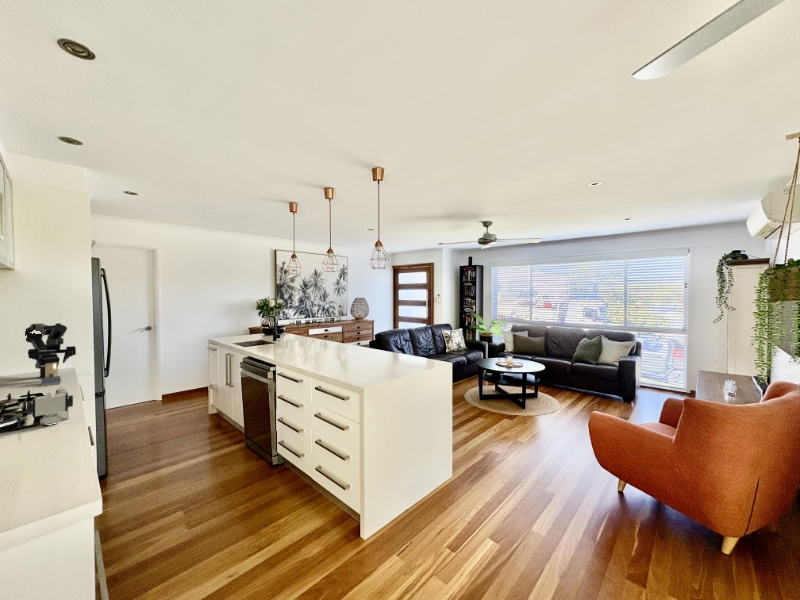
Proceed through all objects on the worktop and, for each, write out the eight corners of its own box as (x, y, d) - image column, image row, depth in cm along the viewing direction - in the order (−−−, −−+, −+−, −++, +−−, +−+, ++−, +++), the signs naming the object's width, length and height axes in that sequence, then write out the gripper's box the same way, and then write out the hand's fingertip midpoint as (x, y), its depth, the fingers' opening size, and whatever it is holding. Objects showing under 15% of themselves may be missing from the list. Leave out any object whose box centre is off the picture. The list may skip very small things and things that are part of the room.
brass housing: (45, 380, 180) (45, 363, 180) (58, 379, 183) (58, 362, 183) (44, 382, 177) (44, 364, 177) (57, 380, 180) (57, 363, 180)
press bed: (43, 383, 180) (43, 375, 180) (61, 381, 185) (61, 373, 185) (41, 386, 174) (41, 378, 174) (59, 384, 178) (59, 376, 178)
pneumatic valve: (72, 422, 124) (72, 391, 124) (26, 430, 115) (26, 397, 115) (72, 418, 128) (73, 388, 128) (28, 426, 119) (28, 394, 119)
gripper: (28, 334, 179) (25, 357, 171) (75, 332, 191) (74, 353, 184) (30, 347, 184) (27, 369, 176) (76, 344, 197) (75, 364, 189)
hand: (51, 363), depth 181 cm, fingers open, 9 cm apart
